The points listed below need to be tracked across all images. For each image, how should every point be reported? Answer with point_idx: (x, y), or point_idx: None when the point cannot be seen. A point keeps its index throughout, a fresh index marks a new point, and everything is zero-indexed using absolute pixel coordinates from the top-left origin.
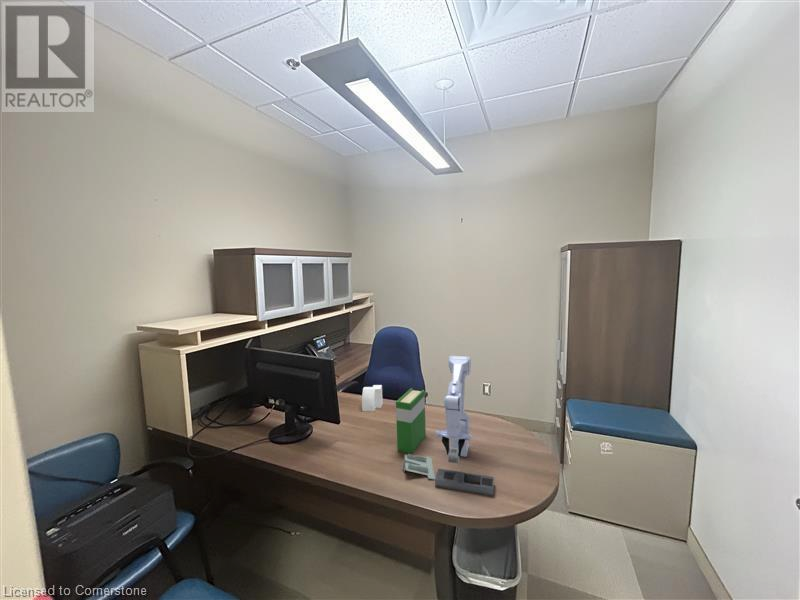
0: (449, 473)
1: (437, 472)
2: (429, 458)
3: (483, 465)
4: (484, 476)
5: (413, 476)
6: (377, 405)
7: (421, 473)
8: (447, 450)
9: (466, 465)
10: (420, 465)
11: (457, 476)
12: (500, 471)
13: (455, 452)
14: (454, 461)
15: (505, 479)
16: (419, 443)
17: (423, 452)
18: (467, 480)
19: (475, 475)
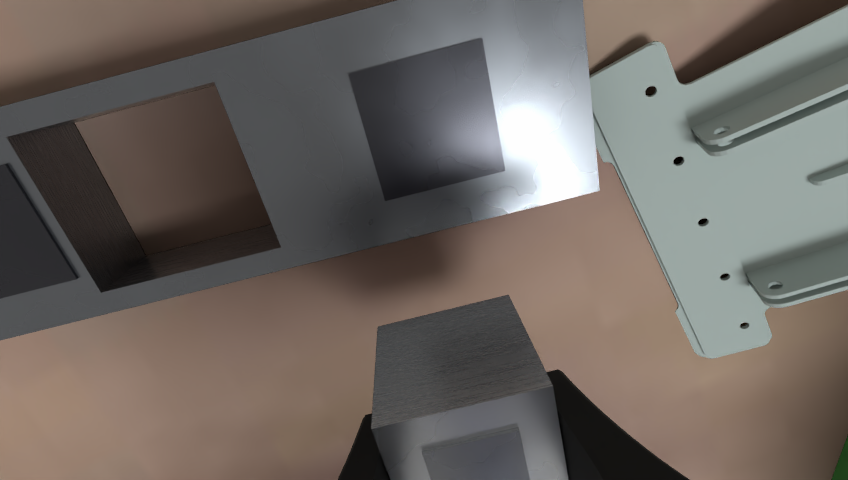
0: (441, 165)
1: (587, 113)
2: (716, 342)
3: (254, 466)
4: (69, 308)
5: None
6: None
7: (765, 51)
8: (585, 425)
9: None
10: (801, 182)
11: (331, 161)
12: (99, 463)
13: (432, 447)
14: (427, 325)
15: (4, 400)
16: (838, 469)
17: (782, 391)
18: (270, 227)
19: (162, 279)
